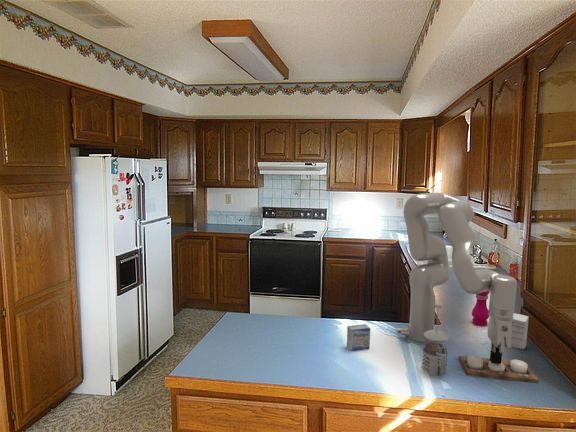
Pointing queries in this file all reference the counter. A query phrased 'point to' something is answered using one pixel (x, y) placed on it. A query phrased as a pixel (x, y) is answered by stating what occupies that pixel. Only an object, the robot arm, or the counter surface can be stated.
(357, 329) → the medicine box
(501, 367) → the button
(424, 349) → the french press
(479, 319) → the pepper mill
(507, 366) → the button panel
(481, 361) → the three-pip button
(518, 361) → the button
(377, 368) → the counter surface
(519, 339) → the supplement box
